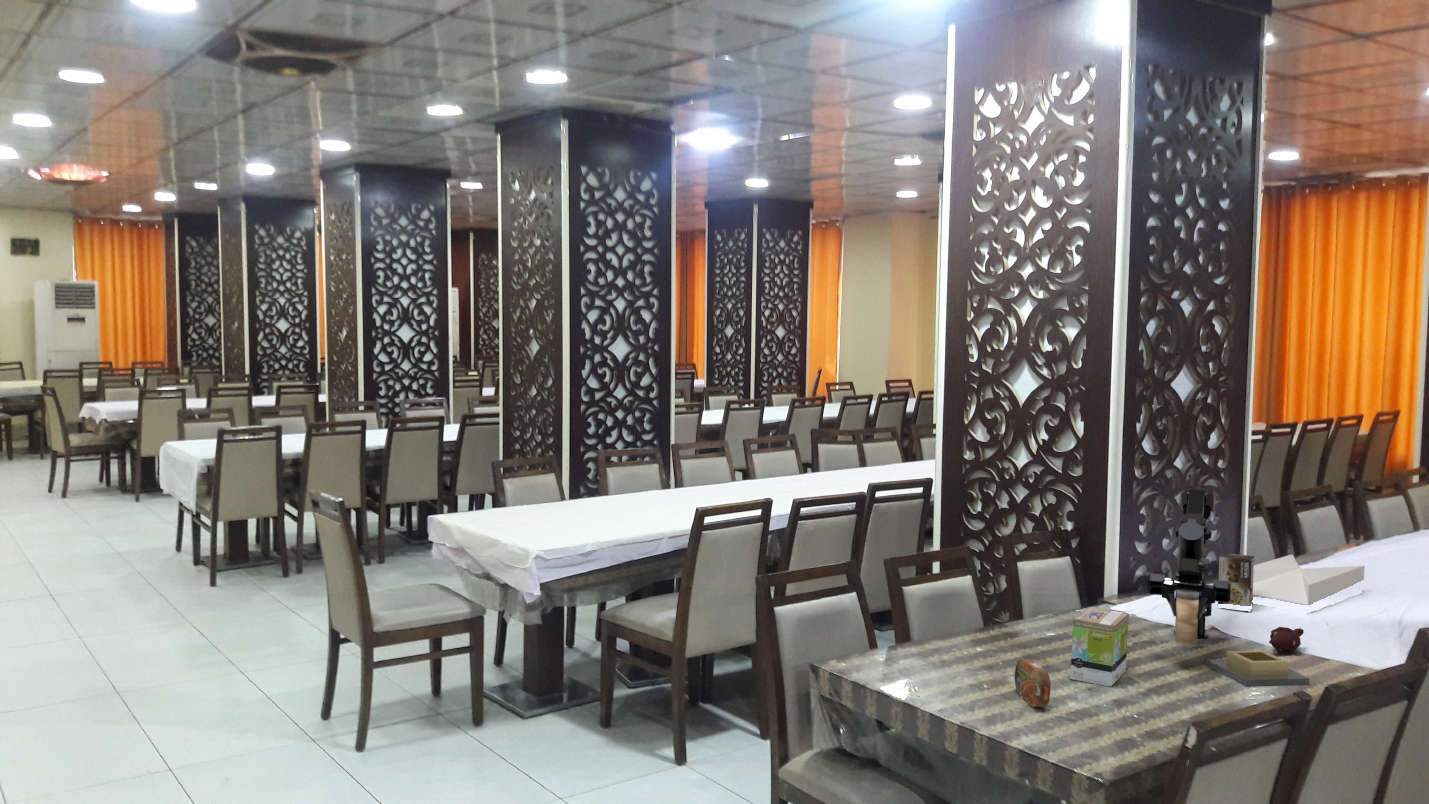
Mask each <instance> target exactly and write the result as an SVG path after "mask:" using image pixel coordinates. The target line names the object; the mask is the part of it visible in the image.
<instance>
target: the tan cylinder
mask: <svg viewBox="0 0 1429 804" xmlns="http://www.w3.org/2000/svg"><path fill="white" fill-rule="evenodd" d="M1176 591H1177V598H1176V616H1175V622H1174V625H1175V626H1174V630H1175V633H1174V642H1175V643H1177V644H1180V645H1183V646H1184V645H1186V646H1195V645H1197V644H1198V638H1197V629H1198V608H1199V592H1197V591H1194V590H1186V589H1180V590H1176Z"/></svg>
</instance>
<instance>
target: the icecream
mask: <svg viewBox="0 0 1429 804" xmlns="http://www.w3.org/2000/svg"><path fill="white" fill-rule="evenodd" d="M1303 635H1304V629H1303V628H1299V627H1298V628H1294V629H1291V628H1289V627H1286V626H1285V627H1284V626H1278V627H1277V628H1275V629H1272V630H1271V631H1270V636H1269V637H1270V640H1269V641H1268V643H1269V644H1270V645H1271V646H1272V647H1273V648H1274V649H1275V650H1276V651H1277V652H1278V653H1280V654H1284V655H1291V654H1293V653H1294V652H1295V651H1298V650H1297V649H1298V648H1299V647H1300V646H1301V645H1302V643H1301V640H1302V639H1301V638H1300V637H1301V636H1303Z"/></svg>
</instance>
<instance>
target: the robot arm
mask: <svg viewBox="0 0 1429 804" xmlns="http://www.w3.org/2000/svg"><path fill="white" fill-rule="evenodd" d="M1180 495H1181V496H1180V509H1181V510H1183V511H1182V514H1183V516H1181V517H1180V521H1179V524H1178V523H1177V524H1176V528H1175V538H1177V539H1178V546H1179V549H1178V559H1177V561H1178V562H1177V567H1176V574H1175V576H1176V577H1175V578H1176V580H1174V579H1173V578H1167V577H1166V574H1164V573H1163V574H1162V573H1153V572H1152V573H1151V572H1150V573H1149V574H1148V575H1147V593H1148V594H1150V595H1157V596H1161V598H1163V599H1166V602H1167V603H1168V604H1169V606H1170V609H1171V612H1172V614H1173V617H1176V598H1177V590H1180V589H1186V590H1194V591H1197V592H1199V608H1198V629H1197V639H1208V638H1209V635H1207V634H1206V618H1207V617H1210V616H1212V609H1213V608H1212V605H1213V604H1216V602H1217V603H1218V602H1230V591H1231V584H1230V582H1229V581H1221V580H1219V579H1213V581H1212V584H1206V583H1205V581H1204V580H1203V573H1206V574H1208V573H1209V565H1210V558H1208V557H1207V558H1204V554H1205V549H1204V545H1206V542H1208V541H1210V539H1212V536H1213V535H1212V534H1213V533H1212V530H1211V528H1210V526H1208V522H1209V521H1210V520H1211V519H1212V518H1211V517H1212V512H1214V511H1215V495H1214V494H1212V493H1209V492H1208V490H1207V489H1201V488H1191V487H1190V488H1187V490H1186V491H1184V492H1181V493H1180ZM1173 633H1174V634H1175V629H1174V631H1173Z"/></svg>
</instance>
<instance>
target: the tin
mask: <svg viewBox="0 0 1429 804" xmlns="http://www.w3.org/2000/svg"><path fill="white" fill-rule="evenodd" d="M1014 685H1015V690H1016V693H1017V694H1020V696H1022V697H1023V698H1024V699H1025V700H1026V701H1027V702H1028V703H1029V704H1030V705H1031V706H1032V708H1045V707H1047V706H1048V705H1049V702H1050V697H1051V696H1050V695H1051V685H1052V683H1051V678H1050V675H1049V673H1048V671H1047V670H1046V669H1044V668H1043V667H1042V666H1041V665H1040V664H1038V663H1037V662H1035V661H1034V660H1032V659H1023V658H1021V659H1019V660H1018V661H1017V662H1016V665H1015V670H1014ZM1020 696H1019V697H1020ZM1024 699H1023V700H1024ZM1025 700H1024V701H1025ZM1026 701H1025V702H1026ZM1027 702H1026V703H1027ZM1028 703H1027V704H1028ZM1029 704H1028V705H1029ZM1031 706H1030V707H1031Z"/></svg>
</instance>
